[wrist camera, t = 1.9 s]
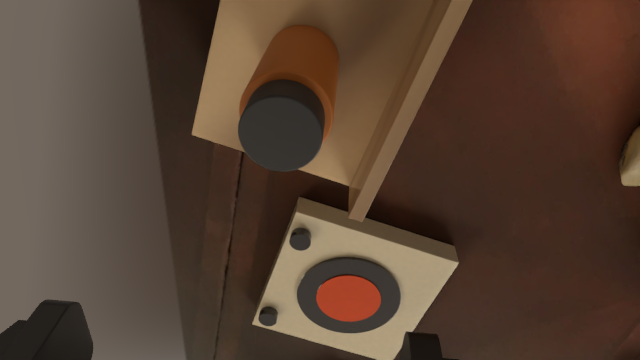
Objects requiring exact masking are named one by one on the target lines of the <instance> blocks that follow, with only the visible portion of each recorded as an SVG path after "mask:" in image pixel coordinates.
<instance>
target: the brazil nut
mask: <svg viewBox="0 0 640 360" xmlns="http://www.w3.org/2000/svg"><path fill="white" fill-rule="evenodd" d="M632 134H633V135H632V136H630V138H629V141H627V142H626V143H625V144H624V146H623V148H622V152H621V157H620V160H619V163H618V164H619V168H620V171H619V172H620V175H621V181H622V184H623V185H624V186H640V125H639V127H638V128H636V129H635V130H634V131H632Z"/></svg>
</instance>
